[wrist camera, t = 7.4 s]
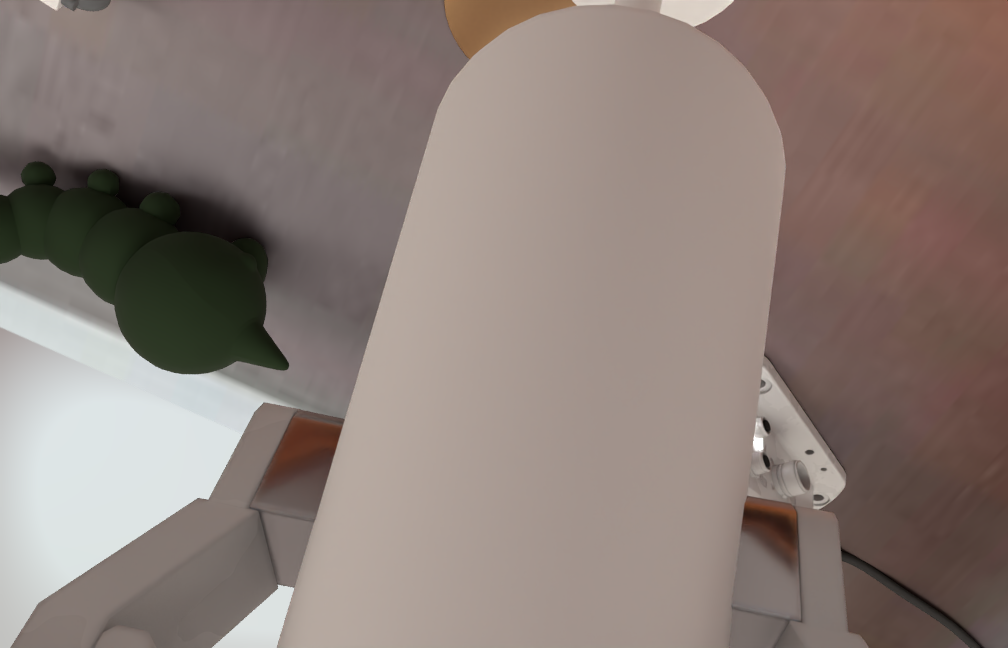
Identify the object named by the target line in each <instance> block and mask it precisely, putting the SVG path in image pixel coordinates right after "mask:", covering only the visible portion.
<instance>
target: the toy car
mask: <svg viewBox="0 0 1008 648" xmlns="http://www.w3.org/2000/svg"><path fill="white" fill-rule="evenodd" d="M40 1H42V2H43V3H45V4H47V5H48V6H50V7H52V8H53V9H55V10H56V11H57V10H58V9H60V8H61V7H62V6H63V5H64V6H66V7H67V8H69V9H71V10H72V11H74V10H75V9H76V8H79V9H82V10H86V11H99V10H103V9H105V8H106V7H107V6H108V5H109V4H110V1H111V0H40Z"/></svg>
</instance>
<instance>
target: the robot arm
mask: <svg viewBox="0 0 1008 648" xmlns="http://www.w3.org/2000/svg"><path fill="white" fill-rule="evenodd" d="M344 421H345V419H342V418H337V417H332V416H328V415H323V414H318V413H313V412H309V411H304V410H301V409H296V408H290V407H285V406H280V405H275V404H270V403H265V402H264V403H263V404H262V405H261V406H260V407H259V408H258V409H257V410H256V411H255V412H254V414H253V416H252V418H251V420H250V422H249V424H248V426H247V428H246V429H245V431H244V433H243V435H242V437H241V439H240V441H239V443H238V445H237V447H236V448H235V450H234V452H233V454H232V456H231V458H230V460H229V462H228V464H227V465H226V467H225V469H224V471H223V473H222V475H221V477H220V479H219V481H218V482H217V484H216V486H215V488H214V490H213V492H212V494H211V496H210V498H209V500H206V499H200V498H197V499H196V500H194V501H193V502H191V503H190V504H188V505H187V506H185V507H184V508H182V509H181V510H179V511H178V512H176V513H175V514H173V515H172V516H170V517H169V518H167V519H166V520H164V521H163V522H161V523H160V524H158V525H156V526H155V527H153V528H152V529H150V530H149V531H147V532H146V533H144V534H143V535H141V536H140V537H138V538H137V539H135V540H134V541H132V542H131V543H129V544H128V545H126V546H125V547H123V548H121V549H120V550H119V551H117V552H116V553H114V554H113V555H111V556H109V557H108V558H106V559H105V560H103V561H102V562H100V563H99V564H97V565H96V566H94V567H93V568H91V569H90V570H88V571H87V572H85V573H84V574H82V575H81V576H79V577H78V578H76V579H74V580H73V581H71V582H70V583H68V584H67V585H66V586H64V587H62V588H61V589H59V590H58V591H57V592H55V593H53V594H52V595H50V596H49V597H47V598H46V599H44V600H43V601H41V602H40V603H39V604H38V605H37V606H36V608H35V610H34V611H33V613H32V614H31V616H30V618H29V619H28V621H27V622H26V624H25V626H24V627H23V629H22V630H21V632H20V634H19V635H18V637H17V638H16V640H15V641H14V643H13V645H12V646H11V648H212V647H213V646H214V645H215V644H216V643H217V642H218V641H220V640H221V639H222V638H223V637H224V636H225V635H226V634H227V633H229V631H231V630H232V629H233V628H234V627H235V626H236V625H238V624H239V623H240V621H242V620H243V619H244V618H245V617H247V615H249V613H251V612H252V611H253V610H254V609H255V608H256V607H258V606H259V605H260V604H261V603H262V602H263V601H264V600H266V599H267V598H268V597H269V596H270V595H271V594H272V593H273V592H275V591H276V590H277V589H278V585H283V586H288V587H294V588H295V585H296V581H297V578H298V575H299V571H300V568H301V565H302V561H303V558H304V555H305V551H306V548H307V545H308V541H309V538H310V535H311V531H312V528H313V525H314V521H315V520H316V516H317V513H318V509H319V506H320V503H321V499H322V496H323V492H324V489H325V485H326V482H327V479H328V475H329V472H330V468H331V465H332V462H333V458H334V455H335V451H336V448H337V444H338V441H339V438H340V434H341V431H342V428H343V424H344ZM845 485H846V473H845V471H844V469H843V468H842V466H841V465H840V463H839V462H838V460H837V459H836V457H835V456H834V454H833V453H832V451H831V450H830V449H829V447H828V446H827V444H826V443H825V441H824V440H823V438H822V437H821V435H820V434H819V432H818V431H817V430H816V428H815V427H814V425H813V424H812V422H811V421H810V419H809V418H808V416H807V415H806V413H805V412H804V411H803V409H802V408H801V406H800V405H799V403H798V402H797V400H796V399H795V397H794V396H793V394H792V393H791V391H790V390H789V389H788V387H787V386H786V384H785V383H784V381H783V380H782V378H781V377H780V375H779V374H778V372H777V371H776V370H775V368H774V367H773V365H772V364H771V362H770V361H769V360H768V359H767V358H766V357H765V356H764V359H763V367H762V375H761V384H760V392H759V400H758V409H757V417H756V426H755V434H754V442H753V451H752V459H751V468H750V476H749V484H748V493H747V498H746V501H745V504H744V511H743V519H742V526H741V534H740V541H739V549H738V557H737V565H736V573H735V581H734V588H733V596H732V604H731V607H732V610H733V615H732V625H731V635H730V644H729V648H869V647H868V646H867V644H866V643H865V641H864V640H863V638H862V637H861V636H860V635H858V634H854V633H850V632H848V624H847V613H846V602H845V591H844V579H843V568H842V561H844V562H846V563H849V564H851V565H853V566H855V567H857V568H859V569H861V570H862V571H864V572H866V573H867V574H869V575H870V576H872V577H873V578H875V579H876V580H877V581H879V582H880V583H882V584H883V585H885V586H886V587H887V588H889V589H890V590H892V591H893V592H895V593H896V594H898V595H899V596H901V597H902V598H904V599H905V600H907V601H908V602H910V603H911V604H913V605H914V606H916V607H918V608H919V609H921V610H922V611H924V612H925V613H927V614H928V615H930V616H931V617H933V618H934V619H936V620H937V621H939V622H940V623H941V624H943V625H944V626H945V627H947V628H948V629H949V630H951V631H952V632H953V633H954V634H955V635H957V636H958V637H959V638H960V639H961V640H962V641H963V642H964V643H965V644H967V645H968V646H969V647H970V648H981V647H980V646H979V645H978V644H977V643H976V642H975V641H974V640H973V639H972V638H971V637H970V636H969V635H968V634H967V633H966V632H964V631H963V630H962V629H961V628H960V627H958V626H957V625H956V624H955V623H953V622H952V621H951V620H950V619H948V618H947V617H946V616H944V615H943V614H941V613H940V612H939V611H937V610H936V609H934V608H933V607H931V606H930V605H928V604H927V603H925V602H924V601H922V600H921V599H919V598H918V597H916V596H914V595H913V594H911V593H910V592H908V591H907V590H905V589H904V588H902V587H901V586H899V585H898V584H896V583H895V582H894V581H892V580H891V579H889V578H888V577H886V576H885V575H884V574H882V573H881V572H879V571H878V570H876V569H875V568H873V567H872V566H870V565H869V564H867V563H865V562H864V561H862V560H860V559H858V558H856V557H854V556H852V555H850V554H848V553H845V552H842V551H841V546H840V535H839V524H838V520H837V518H836V516H835V514H834V513H832V512H829V511H823V510H819V509H821V508H822V507H824V506H825V505H827V504H828V503H830V502H831V501H832V500H833V499H835V498H836V497H837V496H838V495H839V494H840V493H841V491H842V490H843V489H844V487H845ZM277 584H278V585H277Z"/></svg>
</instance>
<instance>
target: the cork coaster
mask: <svg viewBox="0 0 1008 648" xmlns="http://www.w3.org/2000/svg"><path fill="white" fill-rule="evenodd" d="M444 6H445V12H446V17H447V21H448V24H449V27H450V30H451V32H452V34H453V37H454V39H455V40H456V42H457V44H458V45H459V47H460V48H461V50H462V51H463V52H464V54H465V55H466V56H467V57H468V58H469V59H471V58H472V57H473V56H474V55H475V54H476V53H477V52H478V51H479V50H481V49H482V48H483V47H484V46H486V45H487V44H488V43H490V42H491V41H492V40H494V39H495V38H496V37H498V36H499V35H500V34H502V33H503V32H504V31H506V30H507V29H509V28H511V27H513V26H515V25H518V24H520V23H522V22H524V21H526V20H528V19H530V18H533V17H535V16H537V15H539V14H543V13H547V12H551V11H556V10H560V9H564V8H568V7H572V6H577V5H576V4H575V3H574V2H573V1H572V0H444Z"/></svg>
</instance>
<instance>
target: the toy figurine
mask: <svg viewBox="0 0 1008 648" xmlns="http://www.w3.org/2000/svg"><path fill="white" fill-rule="evenodd" d="M21 177H22V182H23V183H24V184H25V186H24V187H21V188H19V189H16V190H14V191H13V192H12V193H11V194H9V195H8V196H3V195H0V264H2V263H7V262H9V261H11V260H13V259H15V258H17V257H18V256H20V255H23V256H26V257H29V258H33V259H40V260H44V259H49V261H50V262H51V263H52V264H54V265H55V266H56V267H58V268H59V269H61V270H62V271H64V272H67V273H69V274H71V275H73V276H78V277H82V278H84V280H85V282H86V284H87V285H88V286H89V287H90V288H91V289H92V291H93V292H94V293H95V294H96V295H97V296H98V297H100V298H101V299H103V300H104V301H106V302H108V303H110V304H113V305H115V312H116V317H117V321H118V325H119V327H120V330H121V332H122V334H123V335H124V337H125V339H126V340H127V342H128V343H129V344H130V346H131V347H132V348H133V349H134V350H135V352H137V353H138V354H139V355H140V356H141V357H143V358H144V359H146V360H147V361H149V362H150V363H152V364H153V365H155V366H156V367H158V368H161V369H163V370H167V371H170V372H174V373H179V374H204V373H209V372H213V371H217V370H220V369H222V368H225V367H227V366H229V365H231V364H233V363H234V362H236V361H241V362H245V363H250V364H254V365H258V366H263V367H267V368H272V369H276V370H287V369H288V368H289V363H288V361H287V359H286V358H285V357H284V355H283V354H282V352H281V351H280V350H279V348H278V347H277V345H276V344H275V343H274V341H273V340H272V338H271V337H270V336H269V334H268V333H267V331H266V330H265V328H264V327H263V324H264V320H265V315H266V293H265V288H264V284H263V282H264V280H265V277H266V274H267V267H268V258H267V255H266V252H265V250H264V247H263V246H262V245H261V244H260V243H258V242H257V241H255V240H254V239H250V238H242V239H237V240H235V241H234V242H232V243H230V242H228V241H226V240H224V239H221V238H219V237H216V236H213V235H209V234H206V233H201V232H179V231H178V230H177V229H176V228H175V226H174V225H175V224H176V222H177V220H178V218H179V217H180V206H179V204H178V203H177V202H176V201H175V200H174V198H173V197H171V196H170V195H169V194H168V193H163V192H154V193H150V194H149V195H148V196H146V197H145V198H144V200H143V201H142V203H141V204H140V206H139V208H128V207H127V206H126V204H125V203H124V202H122V201H121V200H120V199H118V198H117V197H116V196H115V195H117V194H118V193H119V178H118V177H117V175H116V174H115V173H113V172H111V171H109V170H108V169H99V170H96V171H94V172H92V173H91V175H90V176H89V177H88V188H72V189H69V190H66V191H63V190H62V189H60V188H58V187H55V186H53V185H54V184H55V181H56V176H55V173H54V171H53V170H52V168H51V167H50V166H49V165H47V164H45V163H43V162H36V161H35V162H31V163H28V165H27V166H26V167H25V168H24V169H23V171H22V173H21Z"/></svg>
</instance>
